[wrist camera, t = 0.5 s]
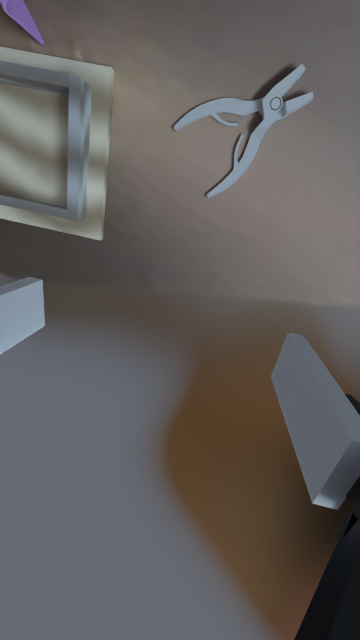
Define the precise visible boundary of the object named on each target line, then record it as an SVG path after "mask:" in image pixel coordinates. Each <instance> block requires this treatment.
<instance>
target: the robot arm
mask: <svg viewBox="0 0 360 640" xmlns="http://www.w3.org/2000/svg"><path fill="white" fill-rule="evenodd" d="M43 326H45V321H44V301H43V281H42V280H41V279H36V278H31V277H27V278H24V279H21V280H18V281H15V282H12V283H9V284H6V285H3V286H0V354H2V353H3V352H5V351H6V350H8V349H10V348H11V347H13V346H14V345H16V344H17V343H19V342H20V341H22V340H23V339H25V338H27V337H28V336H30V335H31V334H33V333H34V332H36V331H37V330H39V329H40V328H42V327H43ZM271 379H272V381H273V385H274V388H275V391H276V394H277V397H278V400H279V403H280V406H281V409H282V412H283V415H284V418H285V421H286V424H287V427H288V430H289V433H290V436H291V440H292V443H293V446H294V448H295V452H296V455H297V458H298V461H299V464H300V467H301V470H302V473H303V476H304V479H305V482H306V485H307V488H308V491H309V494H310V498H311V500H312V503H313V504H317V505H321V506H325V507H329V508H333V509H338V508H339V507H340V505H341V504H342V503H343V501H344V500H345V498H346V497H347V499H348V501H349V504H350V506H351V508H352V510H353V511H352V513H351V514H350V516H349V517H348V518H347V519H346V521H345V522H344V523H343V525H342V526H341V528H340V529H339V530H338V531H337V533H338V534H339V535H340V537H339V539H338V541H337V544H336V546H335V548H334V550H333V552H332V555H331V557H330V559H329V562H328V564H327V566H326V568H325V571H324V573H323V575H322V577H321V580H320V582H319V584H318V586H317V589H316V591H315V593H314V596H313V598H312V600H311V602H310V605H309V607H308V609H307V611H306V614H305V616H304V618H303V621H302V623H301V625H300V628H299V630H298V632H297V634H296V637H295V639H294V640H360V403H359V402H358V401H357V400H356V399H354V398H353V397H352V396H351V395H348V394H344V393H343V391H342V390H341V388H340V387H339V385H338V384H337V383H336V381H335V380H334V378H333V377H332V376H331V374H330V373H329V372H328V370H327V369H326V367H325V366H324V364H323V363H322V361H321V360H320V359H319V357H318V356H317V354H316V353H315V352H314V350H313V349H312V347H311V346H310V344H309V343H308V342H307V340H306V339H305V337H304V336H302V335H297V334H293V333H288V334H287V337H286V340H285V342H284V345H283V347H282V350H281V352H280V355H279V357H278V360H277V362H276V365H275V368H274V370H273V373H272V375H271Z"/></svg>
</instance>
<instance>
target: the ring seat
mask: <svg viewBox="0 0 360 640" xmlns="http://www.w3.org/2000/svg"><path fill="white" fill-rule="evenodd" d="M113 84H114V71H113V69H112V68H111V67H107V66H102V65H96V64H91V63H86V62H80V61H75V60H70V59H64V58H59V57H53V56H48V55H43V54H37V53H32V52H27V51H21V50H16V49H10V48H5V47H0V218H2V219H6V220H11V221H15V222H20V223H24V224H29V225H33V226H38V227H42V228H47V229H51V230H56V231H60V232H65V233H69V234H74V235H78V236H83V237H87V238H92V239H96V240H103V229H104V215H105V200H106V186H107V171H108V157H109V142H110V128H111V113H112V99H113Z"/></svg>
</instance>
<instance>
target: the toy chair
mask: <svg viewBox="0 0 360 640" xmlns="http://www.w3.org/2000/svg"><path fill="white" fill-rule="evenodd" d="M0 4H1V6H2V7H3V9H4V11H5V12H6V13H7V14H8V15H9V16H10V17H11V18H12V19H14V20H15V21H16V22H17V23H18V24H19V25H20V26H22V27H23V28H24V29H25V30H26V31H27V32H28V33H29V34H30V35H31V36H32V37H34V38H35V39H36V40H37V41H38V42H39V43H40V44H41V45H42V46H43V45H44V44H45V43H44V41H43V39H42V37H41V35H40V33H39V31H38V29H37V27H36V25H35V23H34V21H33V19H32V17H31V15H30V13H29V11H28V9H27V7H26V5H25V3H24V1H23V0H0Z"/></svg>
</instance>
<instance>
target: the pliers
mask: <svg viewBox="0 0 360 640" xmlns="http://www.w3.org/2000/svg"><path fill="white" fill-rule="evenodd" d="M304 71H305V67H304V66H303V65H300V66H299V67H298V68H297V69H295V70H294V71H293V72H292V73H290V74H289V75H288V76H287V77H285V78H284V79H283V80H282V81H280V82H279V83H278V84H277V85H275V86H274V87H273V88H272V89H271V90H270V92H269V93H268V94H267V95H266V96H265V97H263V98H260V99H258V100H255V101H243V100H239V99H236V98H222V99H216V100H213V101H210V102H207V103H205V104H202V105H200V106H198V107H196V108H195V109H193V110H191V111H190V112H189V113H187V114H186V115H185V116H184V117H183V118H182V119H180V120H179V121H178V122H177V124H176V125H175V126H174V129H175V131H177V130H179V129H181V128H182V127H184V126H186V125H188V124H190V123H192V122H194V121H196V120H198V119H201V118H204V117H206V116H210V117H213V118H214V119H215V120H216V121H217V122H219V123H220V124H222V125H225V126H230V127H238V123H229V122H225V121H224V120H222V119H220V117H219V116H218V115H217V114H218V113H227V114H233V115H238V116H242V117H243V116H246V115H249V114H251V113H254V112H257V111H258V112H259V113H260V114H261V115H262V117H263V121H262V122H261V123H260V124H259V125H258V127H257V128H256V129H255V130H254V132H253V133H252V134H251V136H250V139H249V142H248V144H247V147H246V150H245V152H244V155H243V157H242V159H241V160H240V162H239V163H238V160H237V151H238V147H239V144H240V142H241V140H242V138H243V135H241V137H240V139H239V141H238V143H237V146H236V148H235V153H234V168H233V171H232V172H231V173H230V174H229V175H228V176H227V177H226V178H225V179H224V180H223V181H222V182H221V183H220V184H219V185H218V186H216V187H215V188H214V189H213V190H212V191H210V192H209V193H208V194H206V195H207V197H208V198H209V197H212V196H214V195H216V194H218V193H220V192H222V191H224V190H225V189H227V188H228V187H229V186H231V185H232V184H233V183H234V182H235V181H236V180H237V179H238V178H239V177H240V176H241V175H242V174H243V173H244V172H245V171H246V169H247V168H248V167H249V165H250V164H251V162H252V161H253V159H254V157H255V155H256V153H257V150H258V147H259V144H260V141H261V139H262V138H263V136H264V134H265V132H266V131H267V130H268V129H269V128H270V127H271V125H272V124H273V123H274V122H275V121H277V120H280V119H283V118H284V117H286V116H288V115H289V114H291V113H293V112H294V111H296V110H298V109H299V108H301V107H303V106H304V105H306V104H308V103H309V102H310V101H311V100H312V99H313V92H310V93H308V94H305V95H302V96H299V97H296V98H294V99H291V100H288V101H285V102H284V103H283V99H282V96H283V95H284V94H285V93H286V92H287V91H288V90H289V89H290V88H291V86H292V85H293V84H294V83H295V82H296V81H297V80H298V79H299V78H300V76H301V75H302V74H303V72H304Z"/></svg>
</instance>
